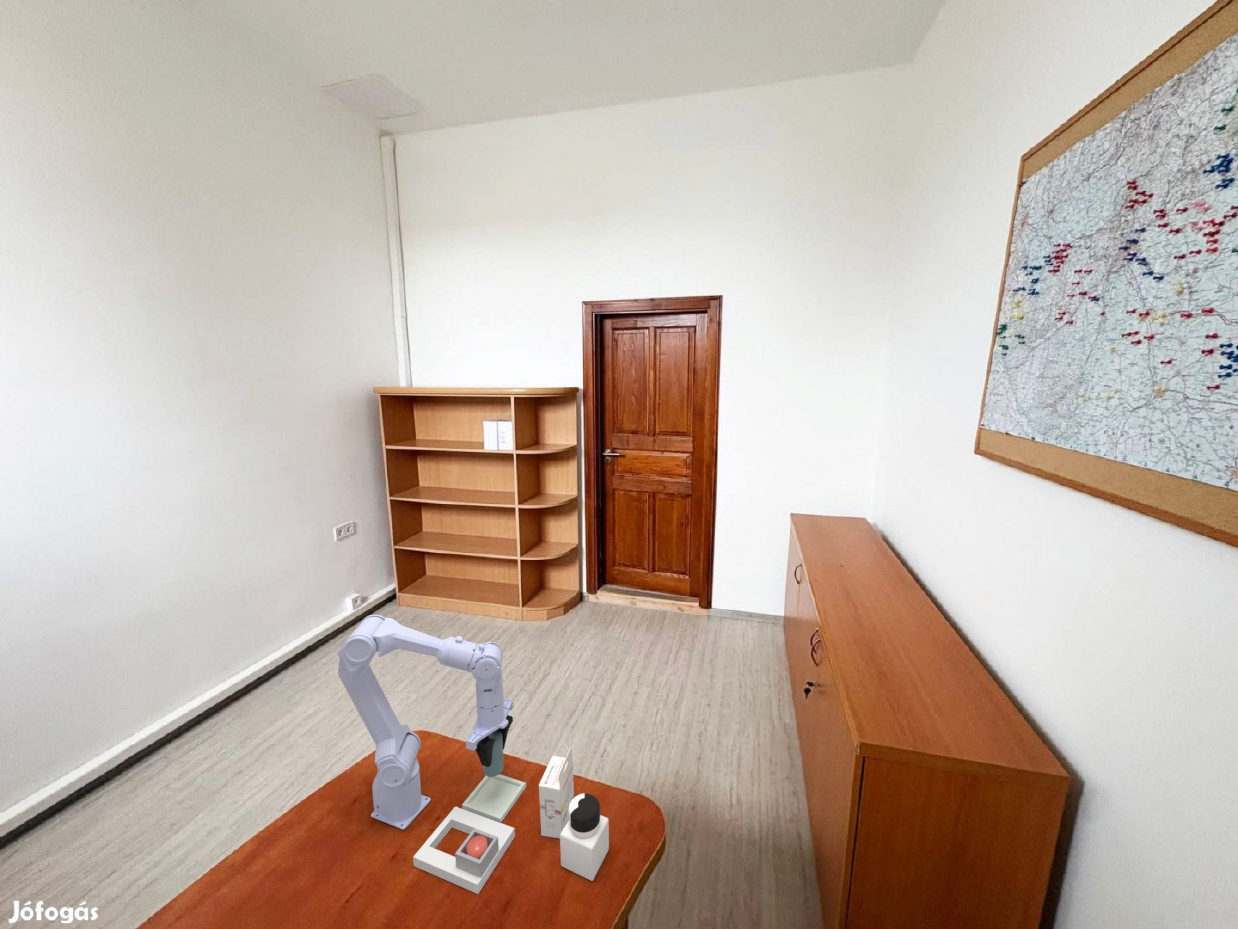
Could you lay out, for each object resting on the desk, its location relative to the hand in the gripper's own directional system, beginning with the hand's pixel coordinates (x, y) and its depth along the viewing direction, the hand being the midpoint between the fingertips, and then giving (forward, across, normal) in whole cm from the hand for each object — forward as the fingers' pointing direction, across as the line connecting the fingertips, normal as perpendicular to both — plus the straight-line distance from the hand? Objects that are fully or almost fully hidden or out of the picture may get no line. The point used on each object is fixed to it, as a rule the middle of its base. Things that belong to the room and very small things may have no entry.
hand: (492, 756), depth 103 cm
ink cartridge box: (+11, 0, -16) cm, 19 cm away
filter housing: (+10, -12, -2) cm, 16 cm away
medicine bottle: (+11, -5, -25) cm, 28 cm away
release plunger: (+8, -14, -7) cm, 18 cm away
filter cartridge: (+3, 0, 0) cm, 3 cm away
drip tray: (+10, 0, 0) cm, 10 cm away
